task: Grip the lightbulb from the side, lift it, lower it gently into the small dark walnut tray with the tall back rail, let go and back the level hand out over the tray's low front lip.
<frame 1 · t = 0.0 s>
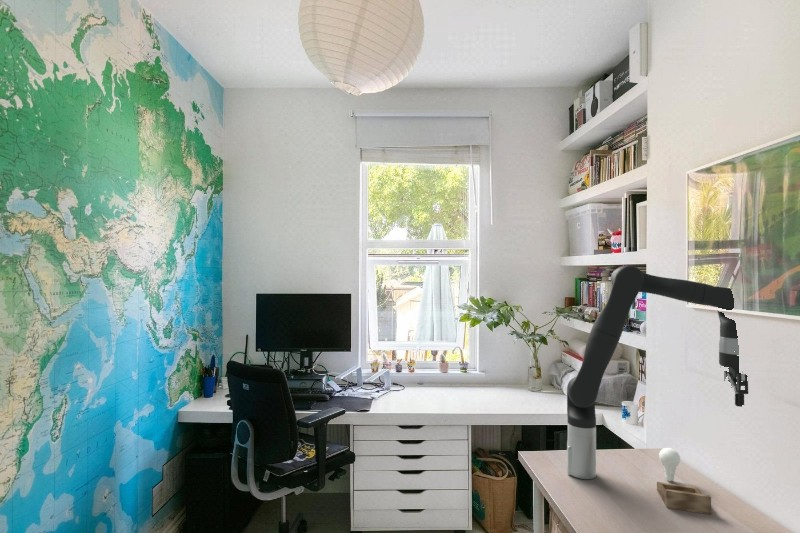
hand: (733, 402, 138), 29 cm above the table, tool pointing down, fingers open, 8 cm apart
cradle: (682, 501, 133), on the table
lightbulb: (669, 481, 147), on the table
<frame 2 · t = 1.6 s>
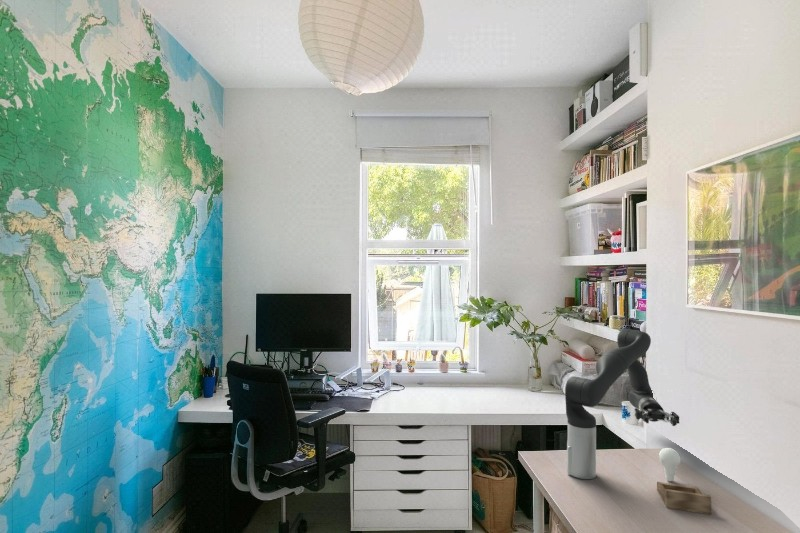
hand: (660, 422, 158), 16 cm above the table, tool horizontal, fingers open, 8 cm apart
nothing on the table moved.
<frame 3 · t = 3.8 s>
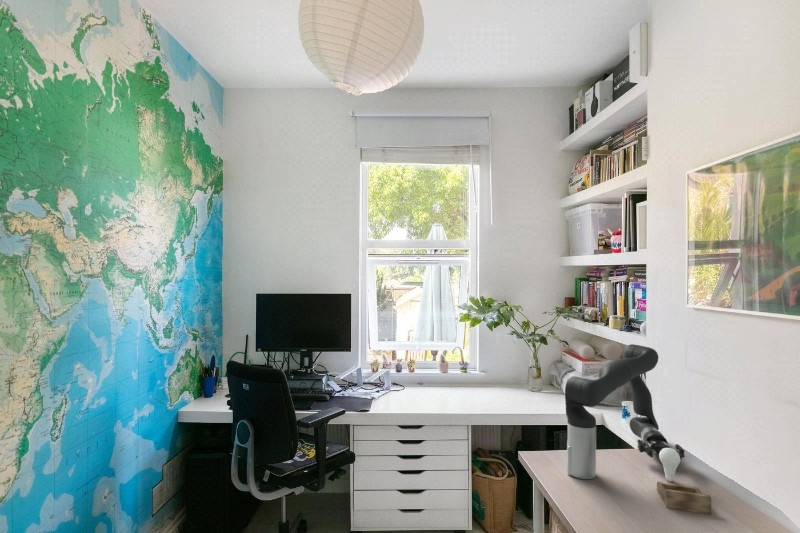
hand: (665, 456, 151), 6 cm above the table, tool horizontal, fingers open, 8 cm apart
nothing on the table moved.
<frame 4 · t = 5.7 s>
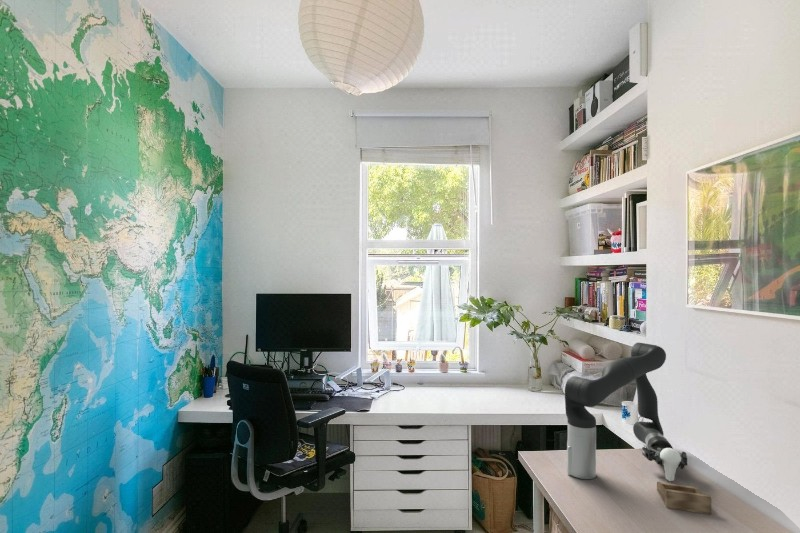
hand: (671, 464, 144), 7 cm above the table, tool horizontal, fingers closed on lightbulb, 5 cm apart
lightbulb: (669, 481, 147), on the table, touching gripper
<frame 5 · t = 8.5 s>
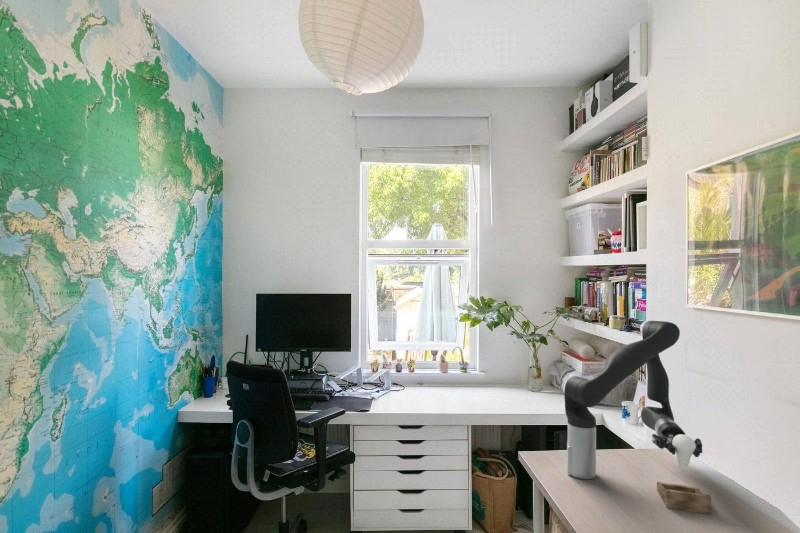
hand: (685, 452, 131), 16 cm above the table, tool horizontal, fingers closed on lightbulb, 5 cm apart
lightbulb: (683, 471, 134), point 9 cm above the table, touching gripper
when the fingers open (7 cm above the table, at t = 11.4 s): lightbulb stays where it is, resting on cradle.
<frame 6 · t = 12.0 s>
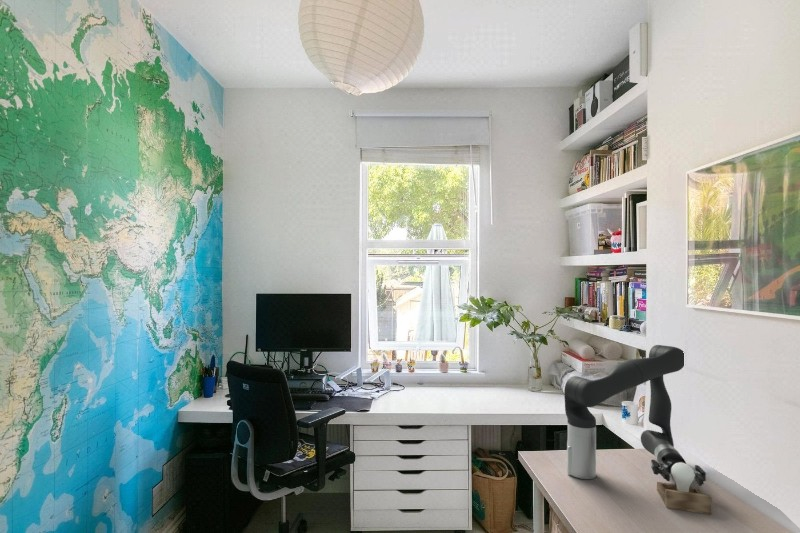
hand: (684, 480, 132), 7 cm above the table, tool horizontal, fingers open, 8 cm apart
lightbulb: (682, 499, 133), resting on cradle
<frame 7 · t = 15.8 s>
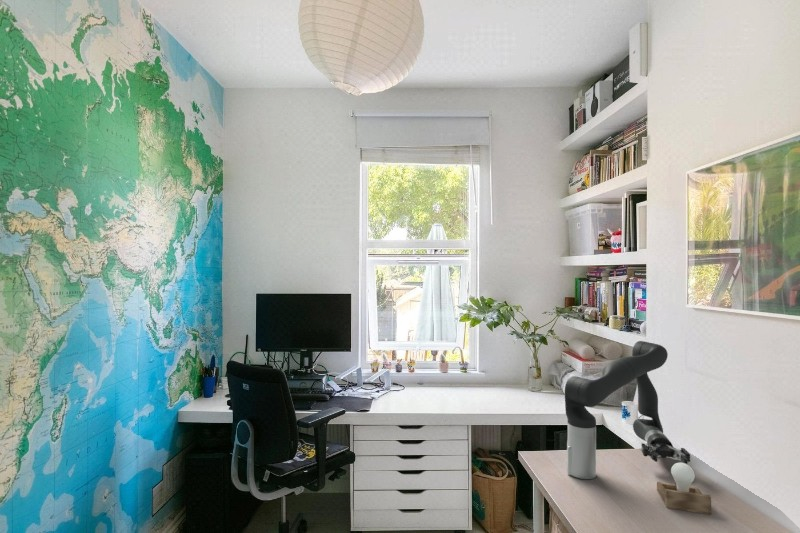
hand: (670, 460, 146), 7 cm above the table, tool horizontal, fingers open, 8 cm apart
nothing on the table moved.
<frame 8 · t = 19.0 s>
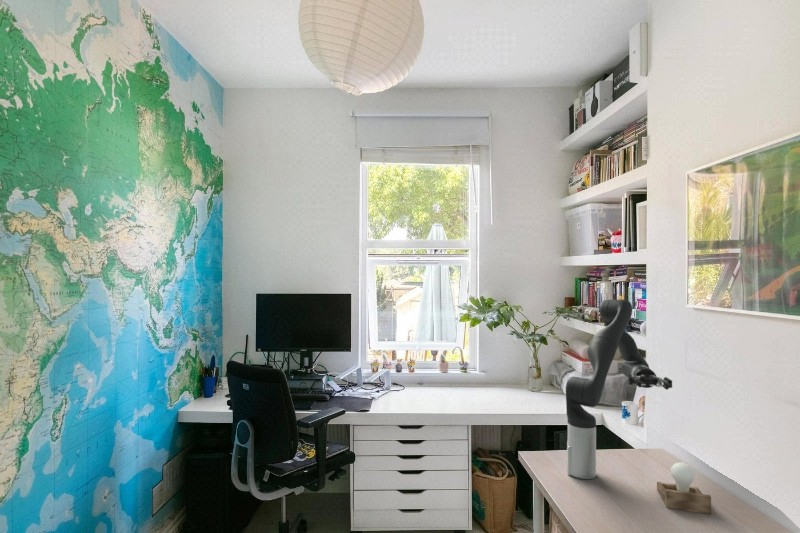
hand: (653, 385, 156), 30 cm above the table, tool horizontal, fingers open, 8 cm apart
nothing on the table moved.
at the end: lightbulb 0.1 cm off-centre on the cradle, point 0.4 cm above the cradle's base; lightbulb tilted 0°; the gripper is holding nothing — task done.
